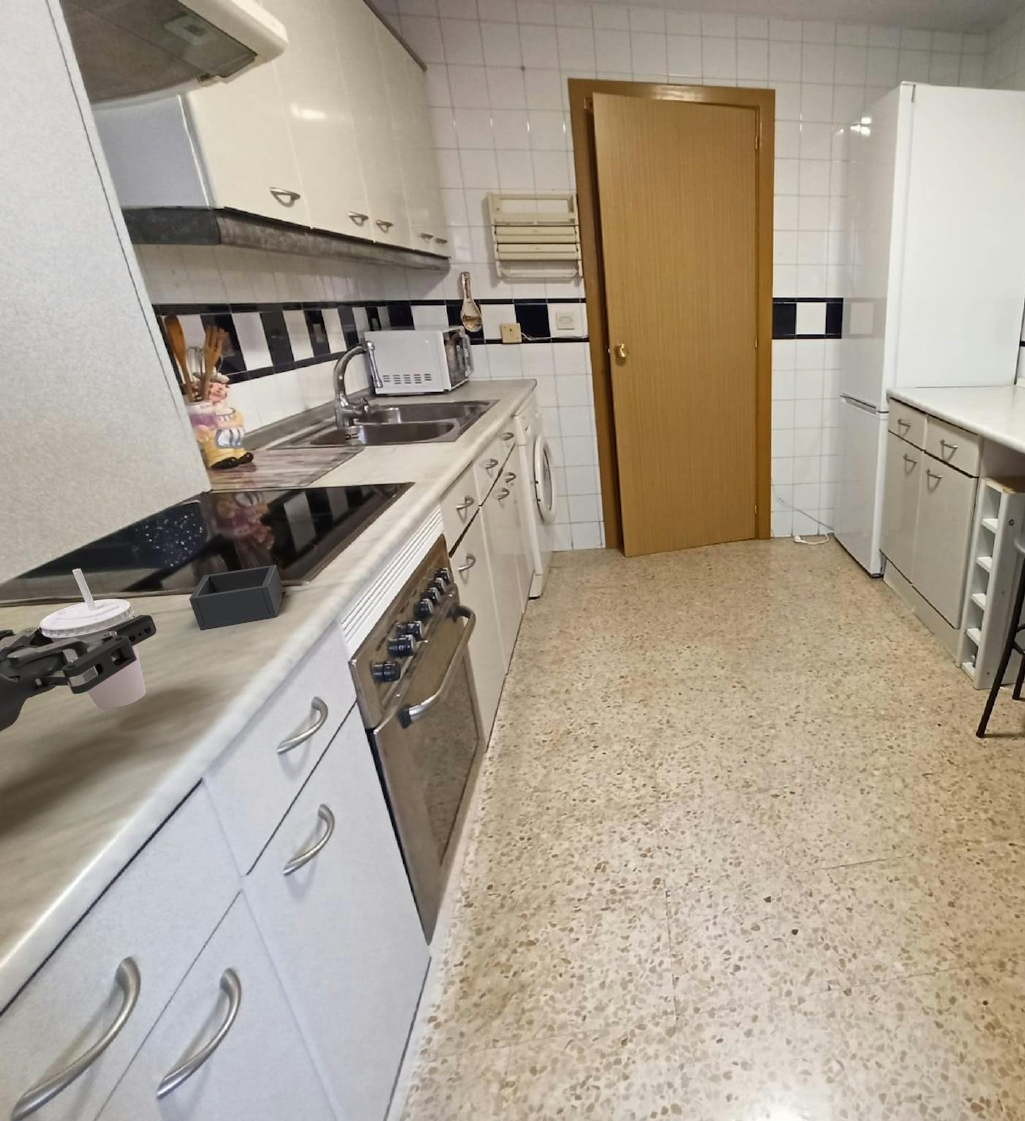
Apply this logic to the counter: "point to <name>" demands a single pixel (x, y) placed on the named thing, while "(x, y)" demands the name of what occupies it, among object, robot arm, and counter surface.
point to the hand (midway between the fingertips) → (117, 621)
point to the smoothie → (92, 622)
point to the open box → (237, 597)
